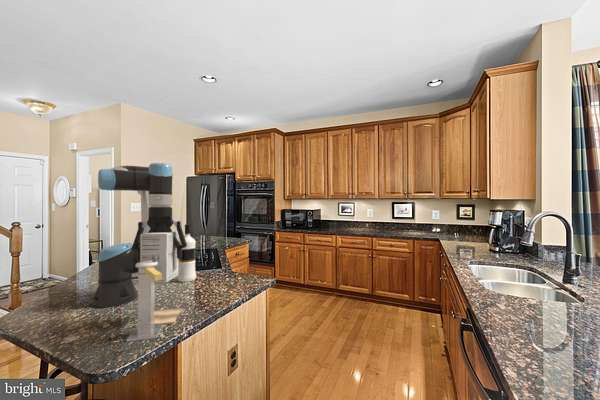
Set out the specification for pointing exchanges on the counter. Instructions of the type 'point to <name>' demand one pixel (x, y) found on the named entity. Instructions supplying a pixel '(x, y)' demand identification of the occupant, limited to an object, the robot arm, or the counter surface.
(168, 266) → the supplement box
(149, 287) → the post
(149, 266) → the handwheel arm
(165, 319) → the trivet
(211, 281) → the counter surface
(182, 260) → the vodka
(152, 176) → the robot arm
